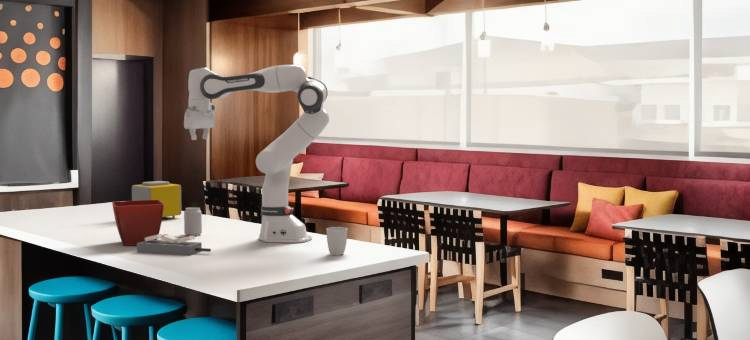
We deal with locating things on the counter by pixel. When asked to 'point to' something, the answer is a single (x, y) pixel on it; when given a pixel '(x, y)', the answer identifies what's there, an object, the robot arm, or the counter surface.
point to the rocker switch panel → (170, 247)
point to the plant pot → (137, 219)
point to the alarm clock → (160, 195)
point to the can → (192, 221)
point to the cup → (336, 240)
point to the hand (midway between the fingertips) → (199, 139)
